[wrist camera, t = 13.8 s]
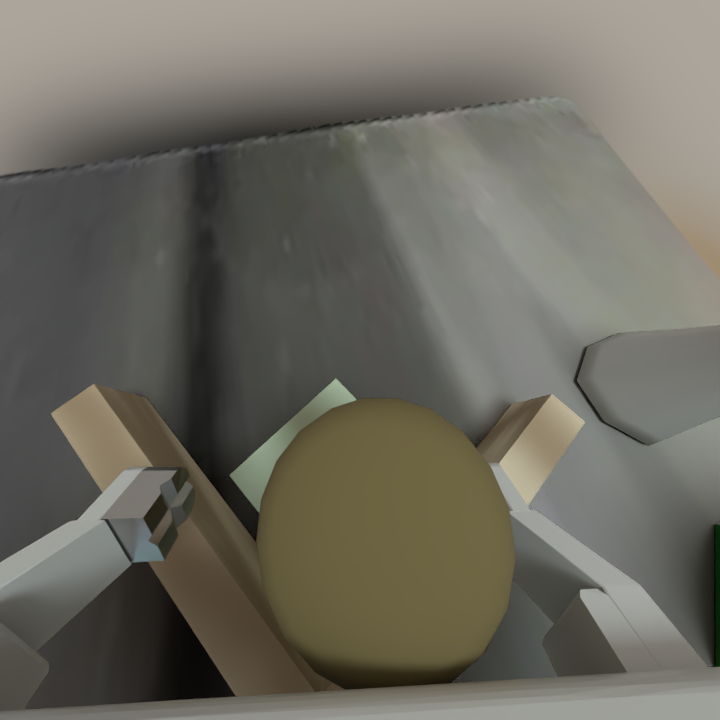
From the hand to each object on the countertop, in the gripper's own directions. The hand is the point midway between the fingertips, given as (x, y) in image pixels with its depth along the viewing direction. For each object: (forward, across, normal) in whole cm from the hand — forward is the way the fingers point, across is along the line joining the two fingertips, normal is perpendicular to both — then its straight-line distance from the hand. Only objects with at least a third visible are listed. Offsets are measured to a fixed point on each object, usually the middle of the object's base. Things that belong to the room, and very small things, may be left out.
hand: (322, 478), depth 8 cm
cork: (+4, +3, -5) cm, 7 cm away
